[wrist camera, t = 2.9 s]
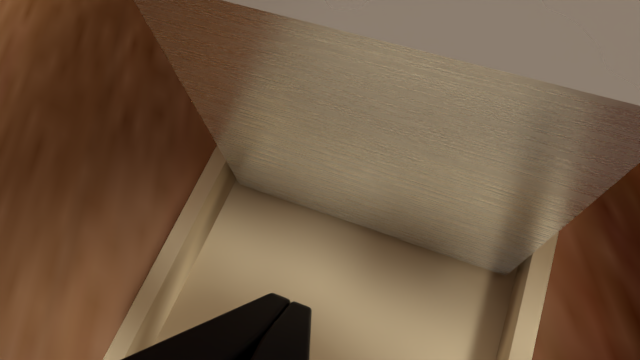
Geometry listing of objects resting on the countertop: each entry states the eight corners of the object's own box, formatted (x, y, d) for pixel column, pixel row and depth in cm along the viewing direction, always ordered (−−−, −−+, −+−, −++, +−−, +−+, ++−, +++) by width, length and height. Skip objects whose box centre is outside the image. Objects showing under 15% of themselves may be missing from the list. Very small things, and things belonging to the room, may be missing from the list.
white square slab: (506, 276, 16) (690, 118, 7) (239, 184, 18) (118, -27, 9) (525, 197, 17) (707, -28, 8) (271, 119, 19) (191, -125, 10)
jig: (442, 645, 14) (540, 950, 6) (91, 460, 16) (-140, 514, 9) (579, 48, 21) (696, -138, 14) (328, -11, 24) (312, -194, 17)
